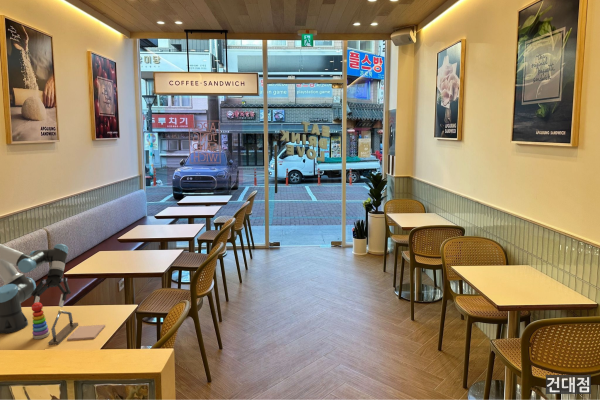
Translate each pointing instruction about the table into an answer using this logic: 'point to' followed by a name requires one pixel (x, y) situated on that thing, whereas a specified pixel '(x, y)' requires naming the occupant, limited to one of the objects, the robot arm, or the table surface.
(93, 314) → the table surface
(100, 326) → the terracotta pad
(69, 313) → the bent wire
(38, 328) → the stacking toy
